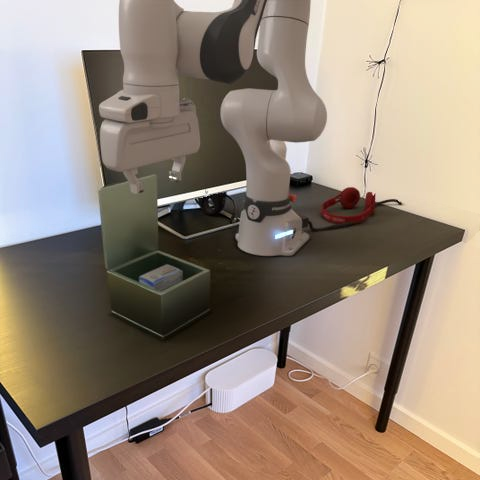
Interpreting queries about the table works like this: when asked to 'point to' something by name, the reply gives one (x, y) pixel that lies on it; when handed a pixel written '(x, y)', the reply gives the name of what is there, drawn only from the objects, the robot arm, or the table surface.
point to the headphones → (349, 206)
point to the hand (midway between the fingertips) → (157, 186)
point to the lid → (128, 220)
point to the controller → (217, 201)
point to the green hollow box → (159, 295)
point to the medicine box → (162, 277)
